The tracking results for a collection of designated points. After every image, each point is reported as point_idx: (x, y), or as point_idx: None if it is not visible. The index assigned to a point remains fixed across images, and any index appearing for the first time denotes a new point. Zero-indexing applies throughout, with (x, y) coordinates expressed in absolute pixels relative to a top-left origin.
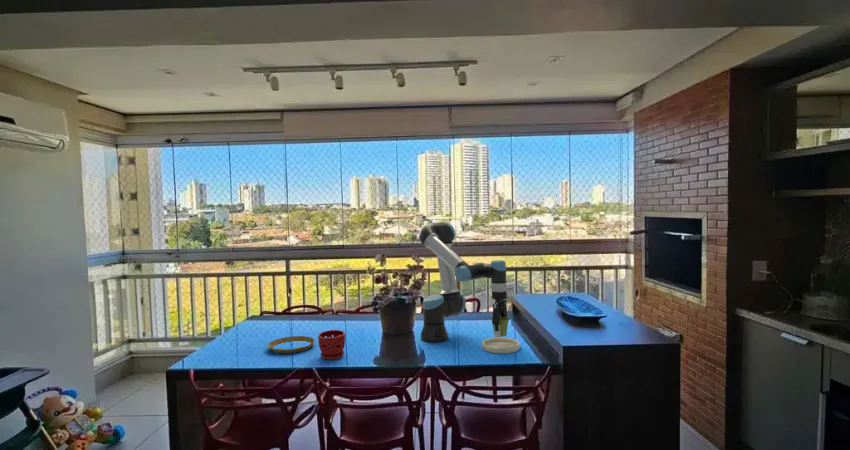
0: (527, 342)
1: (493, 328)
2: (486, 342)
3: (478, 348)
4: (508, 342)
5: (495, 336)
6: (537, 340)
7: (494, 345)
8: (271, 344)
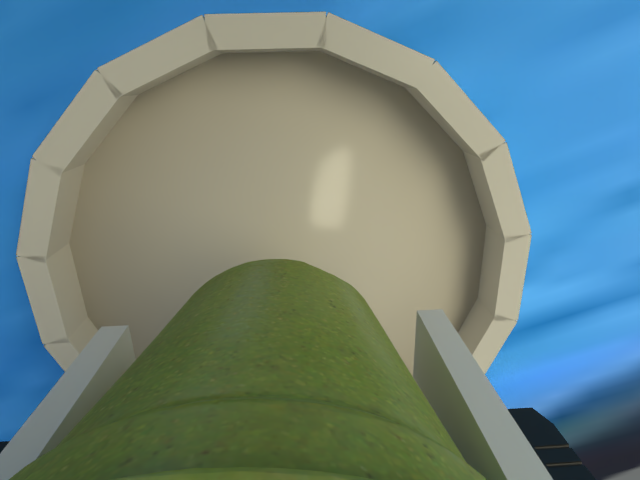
0: (553, 419)
1: (152, 345)
2: (322, 51)
3: (107, 13)
4: (451, 298)
5: (98, 344)
6: (636, 466)
7: (270, 197)
8: None
